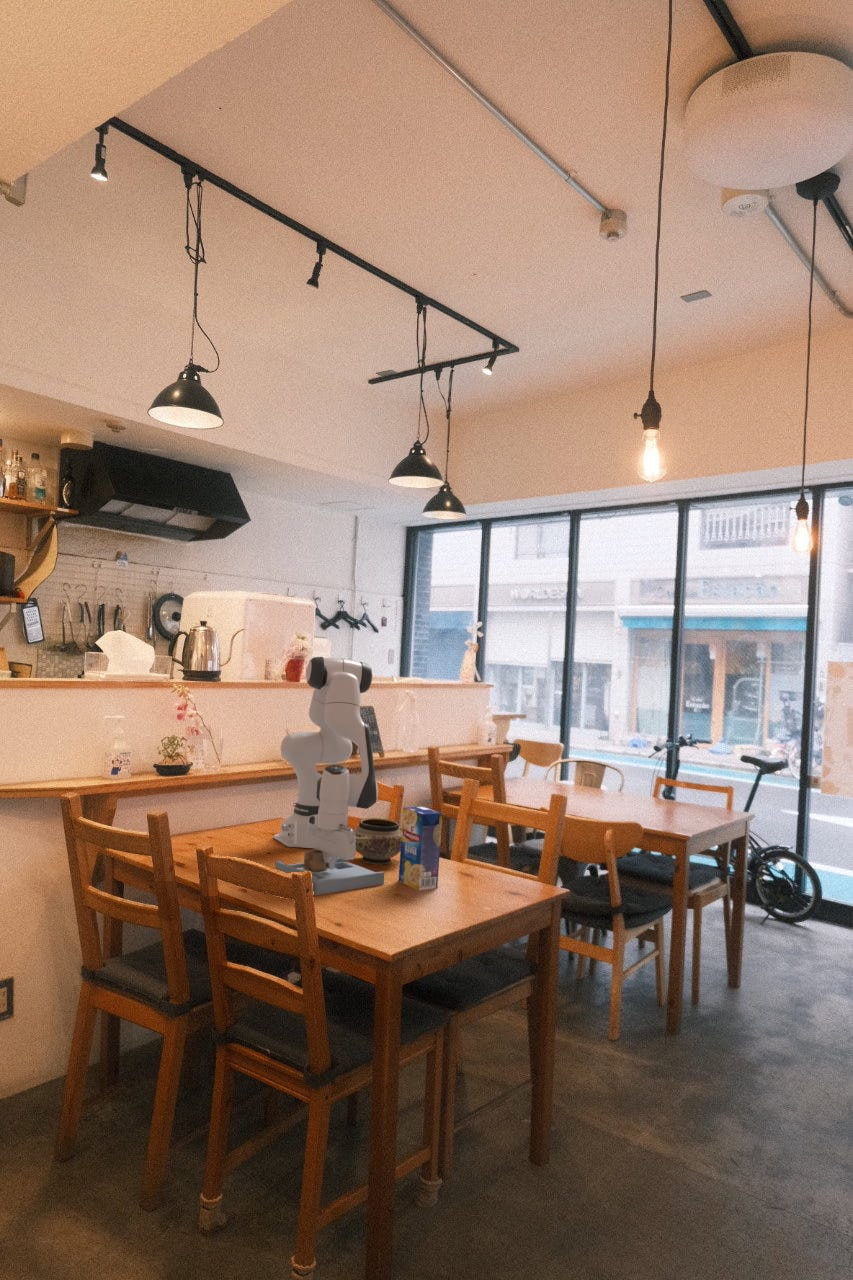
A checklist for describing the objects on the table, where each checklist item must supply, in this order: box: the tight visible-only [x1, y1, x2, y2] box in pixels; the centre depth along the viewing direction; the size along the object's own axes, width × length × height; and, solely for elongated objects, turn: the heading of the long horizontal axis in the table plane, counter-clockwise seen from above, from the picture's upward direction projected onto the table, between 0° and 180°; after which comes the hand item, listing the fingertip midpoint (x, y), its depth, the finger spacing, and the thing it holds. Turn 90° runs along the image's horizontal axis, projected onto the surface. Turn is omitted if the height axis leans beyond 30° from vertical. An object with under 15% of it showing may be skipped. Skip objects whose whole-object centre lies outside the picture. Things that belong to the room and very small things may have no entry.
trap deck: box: [274, 858, 385, 897], centre depth 244 cm, size 20×25×5 cm
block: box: [303, 849, 328, 871], centre depth 247 cm, size 5×5×5 cm
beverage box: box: [398, 806, 443, 891], centre depth 248 cm, size 7×11×22 cm, turn 34°
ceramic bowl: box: [352, 817, 402, 865], centre depth 272 cm, size 24×18×15 cm
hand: (329, 868), depth 245 cm, fingers closed
